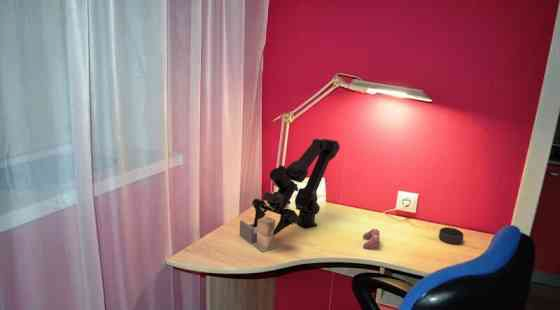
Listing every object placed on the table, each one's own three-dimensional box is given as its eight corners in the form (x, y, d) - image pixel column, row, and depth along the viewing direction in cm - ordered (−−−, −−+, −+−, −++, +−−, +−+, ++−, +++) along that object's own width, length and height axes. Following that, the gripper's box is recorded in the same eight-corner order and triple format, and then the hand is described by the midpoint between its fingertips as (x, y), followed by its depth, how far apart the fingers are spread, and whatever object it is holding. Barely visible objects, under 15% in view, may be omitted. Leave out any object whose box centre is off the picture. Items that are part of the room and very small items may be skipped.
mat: (267, 240, 150) (267, 239, 150) (278, 247, 145) (278, 246, 145) (252, 244, 146) (252, 243, 146) (262, 252, 141) (262, 251, 141)
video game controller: (372, 254, 147) (383, 239, 145) (362, 247, 148) (372, 233, 146) (371, 242, 157) (381, 229, 155) (361, 236, 157) (371, 222, 155)
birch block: (264, 241, 149) (265, 216, 146) (273, 245, 146) (275, 219, 144) (256, 245, 145) (257, 219, 143) (266, 249, 142) (267, 223, 140)
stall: (259, 230, 159) (259, 216, 157) (271, 238, 152) (271, 223, 151) (239, 234, 154) (240, 220, 152) (251, 243, 147) (251, 228, 146)
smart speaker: (460, 237, 162) (461, 228, 161) (464, 247, 154) (465, 237, 153) (437, 234, 165) (438, 225, 164) (439, 243, 156) (441, 233, 155)
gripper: (255, 177, 149) (234, 213, 143) (296, 189, 138) (275, 228, 132) (268, 192, 157) (248, 227, 151) (307, 204, 146) (287, 242, 140)
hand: (263, 230), depth 143 cm, fingers open, 9 cm apart
